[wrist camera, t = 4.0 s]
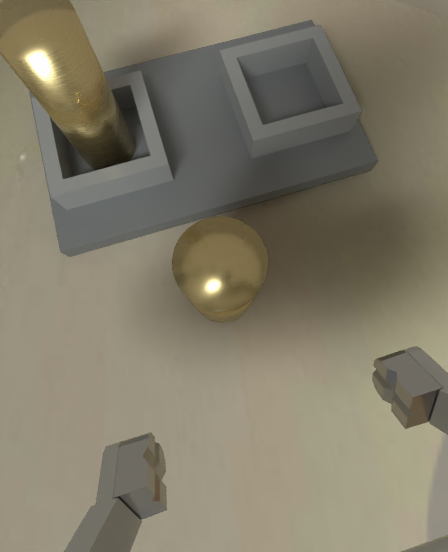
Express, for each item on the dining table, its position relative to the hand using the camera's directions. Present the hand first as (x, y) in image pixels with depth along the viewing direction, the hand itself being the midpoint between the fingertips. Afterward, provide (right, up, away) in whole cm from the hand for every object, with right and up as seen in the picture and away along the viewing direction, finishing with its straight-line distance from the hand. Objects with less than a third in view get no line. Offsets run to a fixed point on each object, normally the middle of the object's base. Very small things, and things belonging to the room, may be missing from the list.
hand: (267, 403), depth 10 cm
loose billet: (-2, +3, +11) cm, 11 cm away
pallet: (-4, +16, +13) cm, 21 cm away
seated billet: (-10, +14, +12) cm, 21 cm away
